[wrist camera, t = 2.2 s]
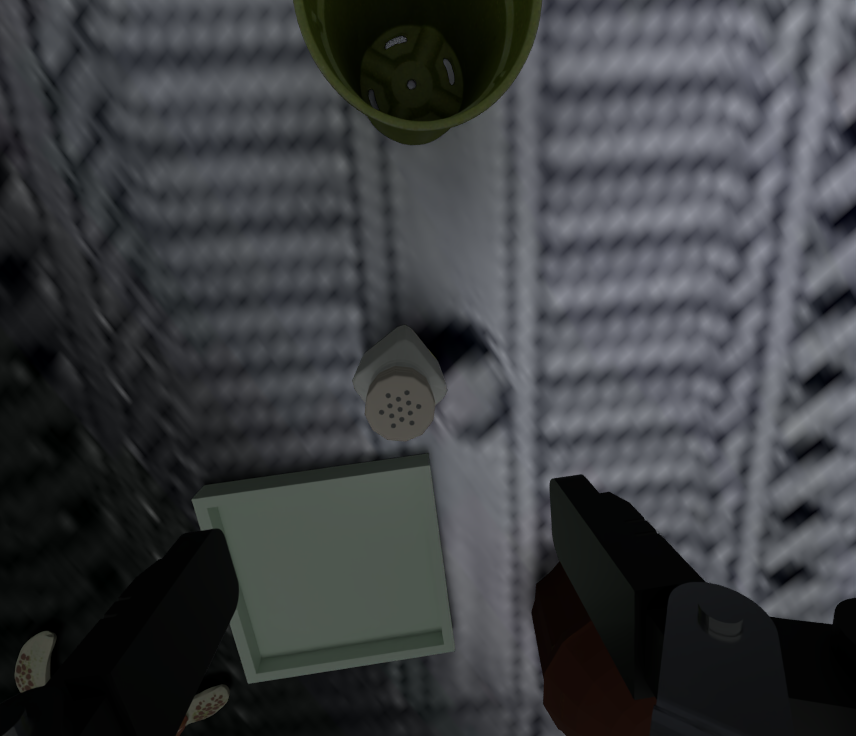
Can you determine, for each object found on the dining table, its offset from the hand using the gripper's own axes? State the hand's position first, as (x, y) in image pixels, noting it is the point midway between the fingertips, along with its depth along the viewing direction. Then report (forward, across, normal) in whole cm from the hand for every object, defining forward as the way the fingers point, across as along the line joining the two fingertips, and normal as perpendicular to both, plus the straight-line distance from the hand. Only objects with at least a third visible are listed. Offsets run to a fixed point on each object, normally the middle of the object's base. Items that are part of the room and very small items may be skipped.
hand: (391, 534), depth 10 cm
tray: (+18, +7, +15) cm, 24 cm away
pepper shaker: (+18, 0, 0) cm, 18 cm away
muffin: (+18, -12, +22) cm, 31 cm away
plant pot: (+18, -3, -16) cm, 25 cm away
